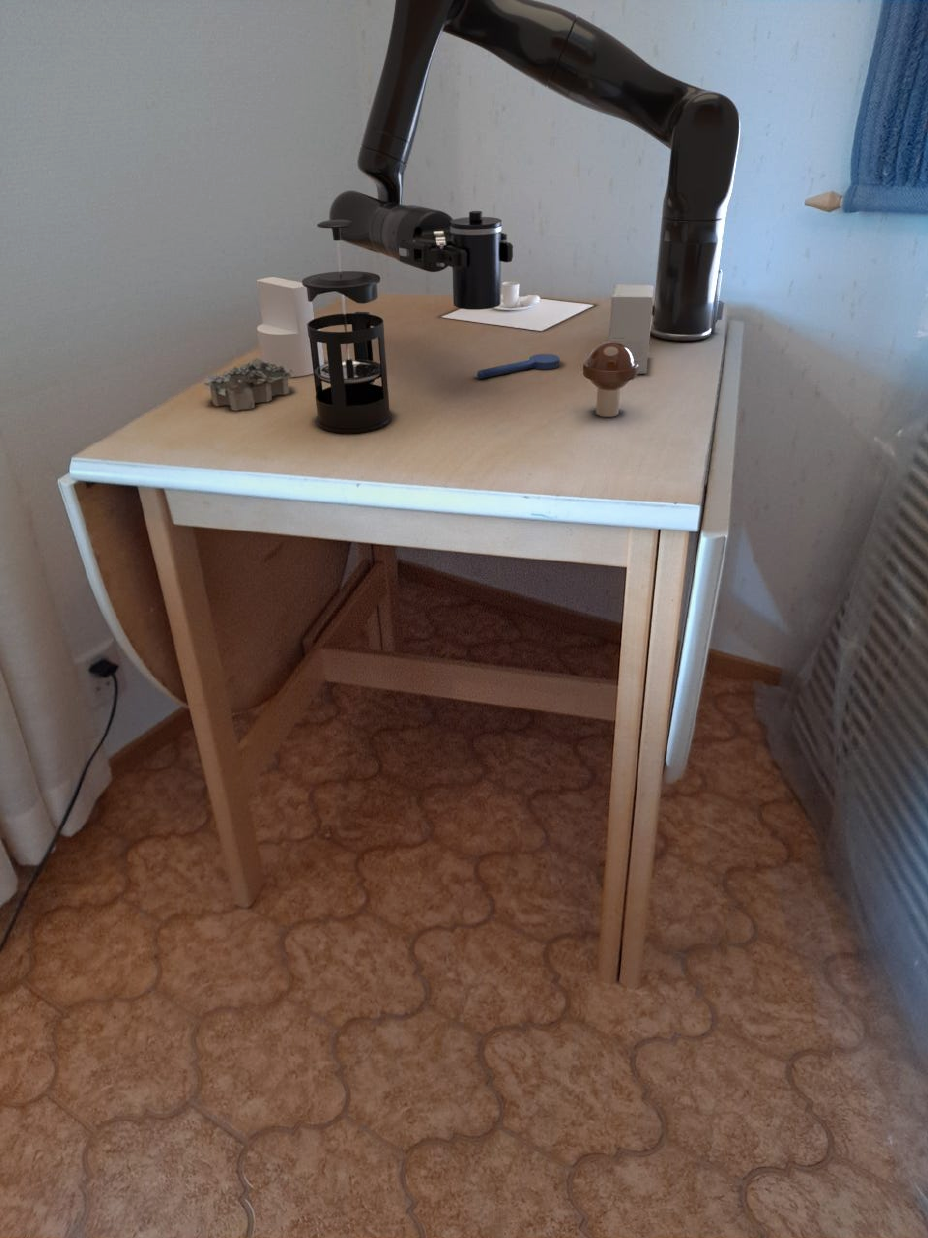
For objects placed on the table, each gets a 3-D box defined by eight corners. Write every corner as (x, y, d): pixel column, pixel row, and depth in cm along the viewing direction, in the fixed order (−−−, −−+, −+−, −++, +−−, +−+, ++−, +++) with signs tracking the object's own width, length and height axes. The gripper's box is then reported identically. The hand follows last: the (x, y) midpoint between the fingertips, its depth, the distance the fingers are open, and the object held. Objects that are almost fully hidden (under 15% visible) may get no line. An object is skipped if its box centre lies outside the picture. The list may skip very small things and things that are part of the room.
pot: (484, 295, 113) (483, 206, 107) (511, 304, 109) (512, 211, 103) (443, 302, 111) (439, 211, 105) (469, 312, 106) (467, 217, 100)
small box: (646, 375, 121) (653, 297, 115) (605, 373, 122) (611, 295, 116) (647, 358, 127) (654, 283, 122) (609, 357, 128) (614, 283, 123)
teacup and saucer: (544, 305, 156) (545, 281, 154) (523, 314, 151) (523, 290, 148) (502, 300, 160) (502, 276, 158) (480, 309, 155) (480, 285, 152)
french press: (376, 438, 103) (359, 228, 90) (303, 433, 105) (276, 227, 92) (405, 405, 112) (393, 212, 100) (337, 401, 114) (317, 211, 102)
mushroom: (610, 400, 112) (615, 332, 108) (644, 415, 108) (651, 343, 103) (570, 410, 109) (573, 340, 105) (603, 426, 105) (608, 353, 100)
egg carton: (240, 414, 111) (235, 383, 109) (202, 403, 115) (196, 373, 113) (299, 391, 118) (295, 361, 116) (261, 381, 122) (257, 352, 120)
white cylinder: (250, 369, 127) (237, 283, 121) (299, 355, 133) (288, 272, 126) (288, 381, 122) (276, 292, 116) (337, 366, 128) (328, 280, 121)
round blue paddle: (547, 358, 129) (547, 350, 128) (565, 365, 125) (565, 357, 125) (469, 375, 123) (469, 367, 122) (486, 383, 119) (486, 374, 119)
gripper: (369, 212, 111) (435, 229, 99) (464, 201, 118) (536, 216, 106) (374, 273, 116) (437, 297, 104) (465, 259, 122) (535, 280, 110)
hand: (487, 256), depth 105 cm, fingers closed on pot, 6 cm apart
